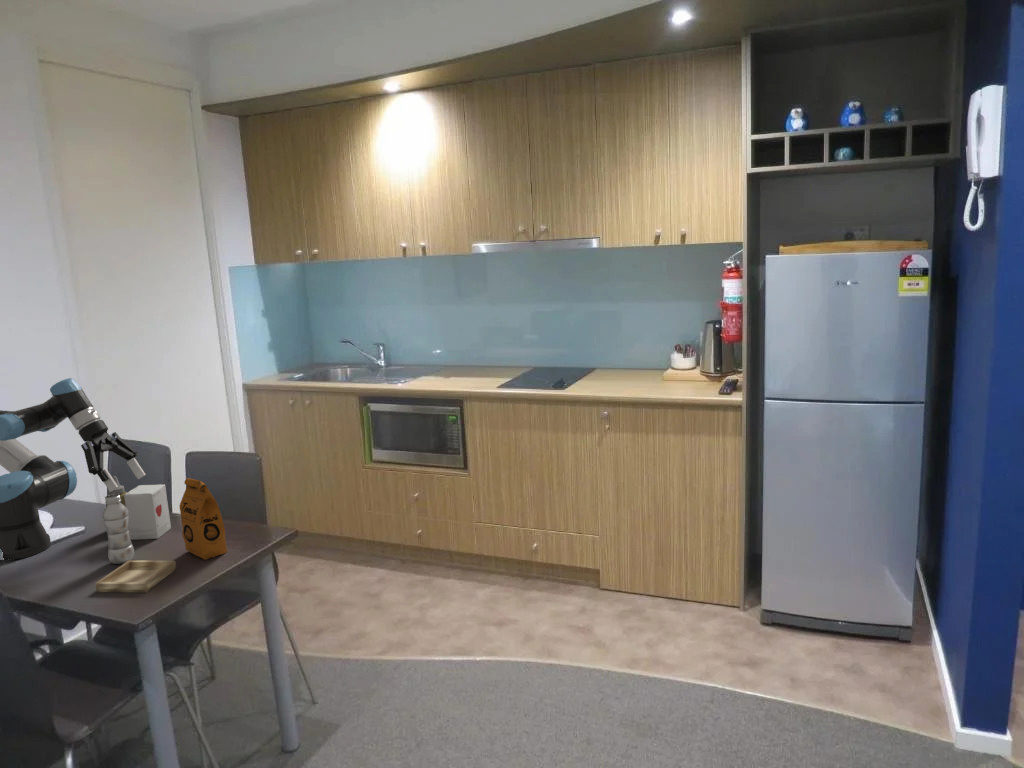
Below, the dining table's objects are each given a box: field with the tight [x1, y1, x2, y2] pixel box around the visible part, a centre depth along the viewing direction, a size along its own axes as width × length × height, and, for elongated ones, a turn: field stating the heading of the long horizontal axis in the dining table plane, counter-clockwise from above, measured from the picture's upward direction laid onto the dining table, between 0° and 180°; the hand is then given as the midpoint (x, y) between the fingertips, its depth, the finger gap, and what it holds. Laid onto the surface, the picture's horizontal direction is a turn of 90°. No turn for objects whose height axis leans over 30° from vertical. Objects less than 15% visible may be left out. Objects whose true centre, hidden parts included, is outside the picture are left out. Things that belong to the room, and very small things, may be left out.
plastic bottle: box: [102, 494, 135, 565], centre depth 208 cm, size 6×7×20 cm
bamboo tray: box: [94, 559, 177, 594], centre depth 197 cm, size 14×14×2 cm
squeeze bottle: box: [105, 475, 129, 526], centre depth 232 cm, size 8×8×18 cm
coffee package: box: [179, 477, 228, 561], centre depth 212 cm, size 10×12×22 cm
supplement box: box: [124, 484, 172, 541], centre depth 228 cm, size 9×9×15 cm
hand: (128, 483), depth 225 cm, fingers open, 13 cm apart
